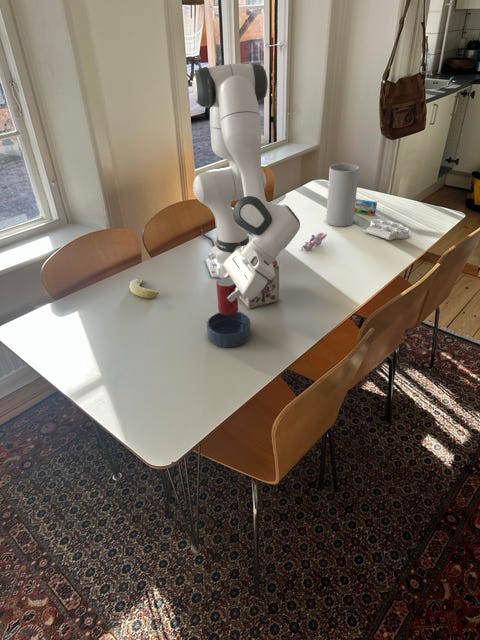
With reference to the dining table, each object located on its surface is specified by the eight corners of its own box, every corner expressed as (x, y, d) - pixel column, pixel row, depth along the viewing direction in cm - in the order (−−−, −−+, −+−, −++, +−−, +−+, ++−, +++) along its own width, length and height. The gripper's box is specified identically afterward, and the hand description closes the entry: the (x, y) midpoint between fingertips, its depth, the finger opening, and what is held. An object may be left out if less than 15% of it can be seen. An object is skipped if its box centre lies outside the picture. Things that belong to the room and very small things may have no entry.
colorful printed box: (350, 211, 224) (351, 199, 221) (351, 210, 225) (352, 198, 222) (374, 215, 219) (376, 202, 215) (375, 214, 220) (377, 201, 216)
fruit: (140, 304, 159) (139, 295, 157) (124, 286, 170) (123, 279, 168) (159, 298, 162) (158, 289, 160) (143, 281, 173) (141, 273, 171)
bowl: (202, 330, 144) (200, 317, 141) (240, 320, 148) (239, 306, 145) (217, 353, 134) (216, 339, 131) (257, 341, 138) (257, 327, 135)
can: (215, 307, 137) (213, 279, 132) (233, 303, 139) (231, 275, 134) (223, 317, 133) (220, 288, 127) (241, 312, 134) (239, 283, 129)
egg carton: (359, 232, 203) (379, 223, 210) (394, 244, 191) (414, 234, 199) (360, 225, 201) (380, 216, 208) (395, 236, 189) (415, 226, 197)
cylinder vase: (333, 215, 221) (337, 162, 207) (357, 220, 215) (363, 165, 201) (321, 223, 213) (324, 169, 199) (346, 229, 206) (351, 172, 193)
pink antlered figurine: (310, 256, 188) (331, 239, 195) (309, 243, 184) (331, 226, 191) (298, 252, 191) (319, 235, 199) (297, 239, 188) (319, 223, 195)
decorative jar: (235, 294, 162) (232, 247, 152) (264, 286, 166) (264, 240, 156) (248, 310, 153) (247, 261, 143) (280, 301, 156) (280, 253, 147)
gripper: (237, 237, 136) (208, 273, 139) (261, 266, 120) (227, 306, 123) (251, 249, 140) (223, 283, 143) (277, 278, 123) (243, 316, 126)
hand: (225, 294), depth 133 cm, fingers closed on can, 6 cm apart
